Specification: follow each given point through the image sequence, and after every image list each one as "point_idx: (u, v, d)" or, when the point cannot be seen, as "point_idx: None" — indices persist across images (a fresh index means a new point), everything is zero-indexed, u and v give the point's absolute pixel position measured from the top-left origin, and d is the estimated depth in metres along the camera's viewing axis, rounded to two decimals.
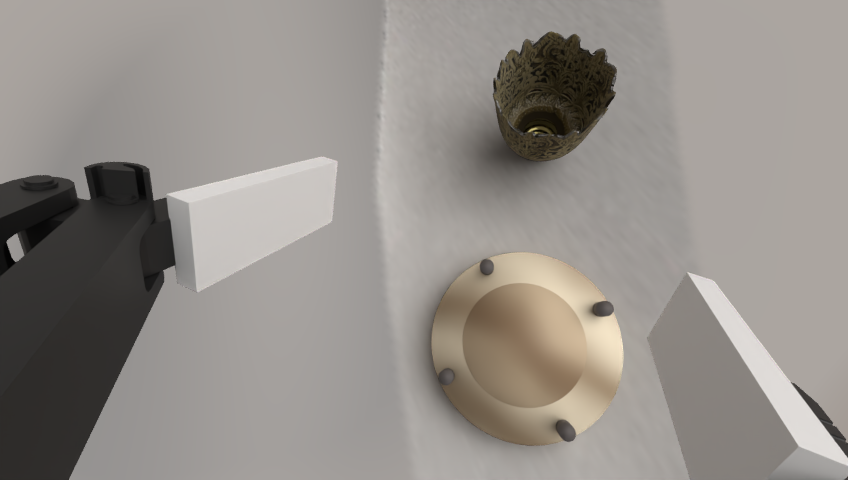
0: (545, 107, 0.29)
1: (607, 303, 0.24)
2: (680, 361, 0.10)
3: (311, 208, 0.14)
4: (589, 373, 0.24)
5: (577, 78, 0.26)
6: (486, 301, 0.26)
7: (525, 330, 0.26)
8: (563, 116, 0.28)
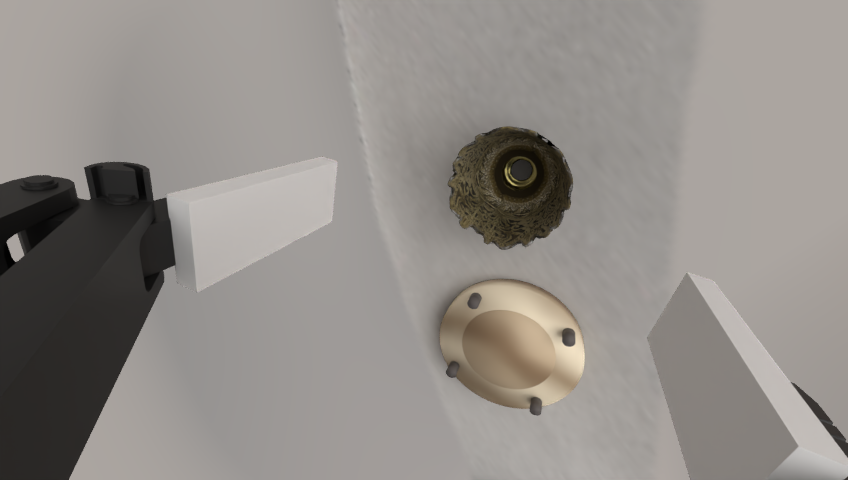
0: (523, 146, 0.26)
1: (570, 338, 0.29)
2: (680, 361, 0.10)
3: (311, 208, 0.14)
4: (556, 373, 0.32)
5: (547, 144, 0.23)
6: (477, 321, 0.33)
7: (508, 342, 0.33)
8: (542, 157, 0.26)
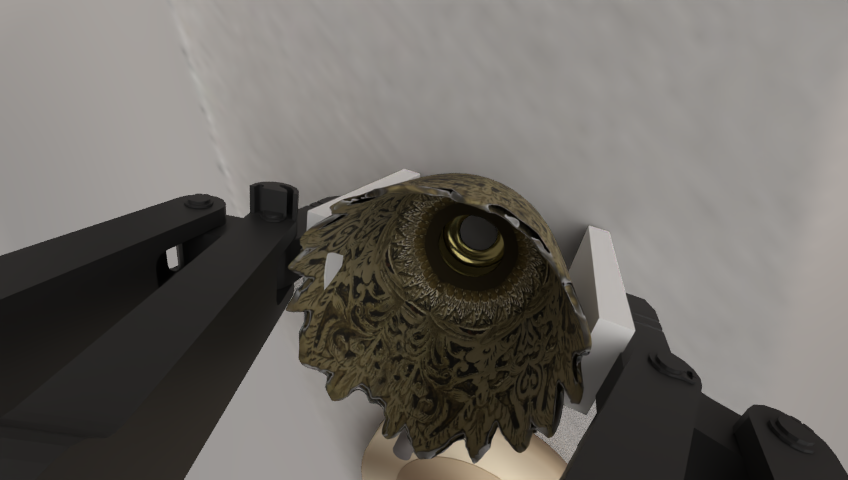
0: None
1: None
2: None
3: None
4: None
5: None
6: (415, 466, 0.20)
7: None
8: None
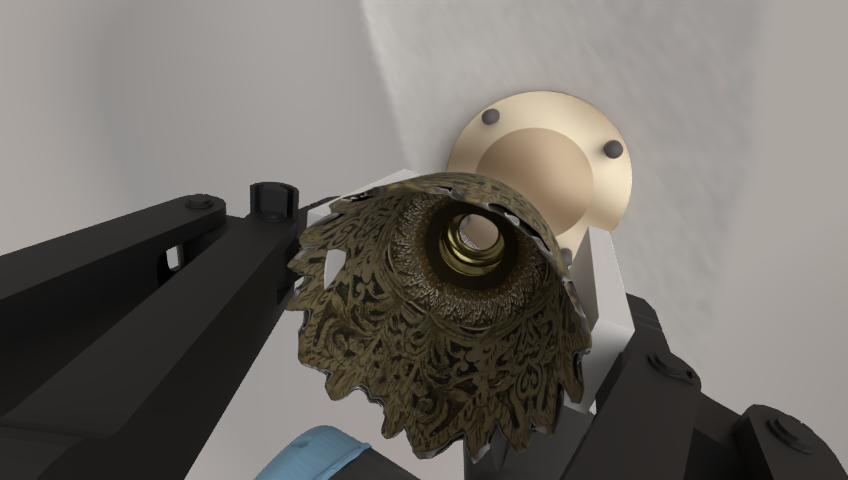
0: None
1: (617, 145, 0.22)
2: None
3: None
4: (593, 210, 0.25)
5: None
6: (493, 150, 0.26)
7: (533, 175, 0.26)
8: None
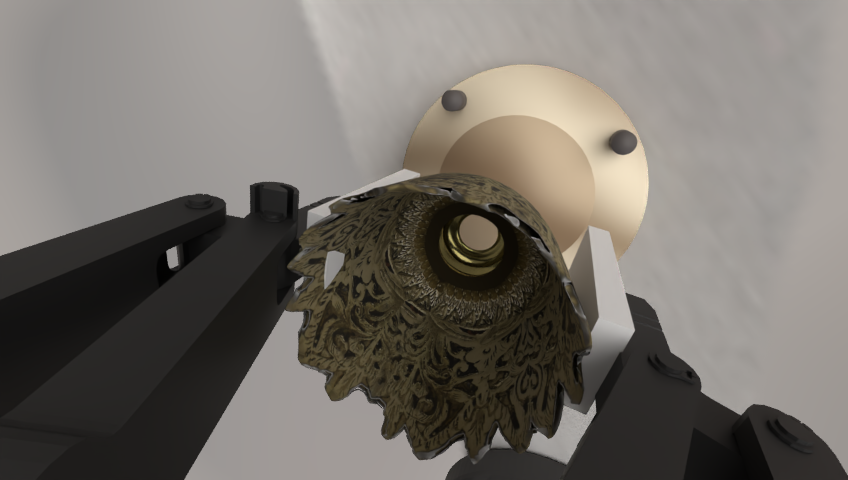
0: None
1: (628, 135, 0.16)
2: None
3: None
4: (595, 226, 0.19)
5: None
6: (460, 147, 0.20)
7: (513, 180, 0.19)
8: None
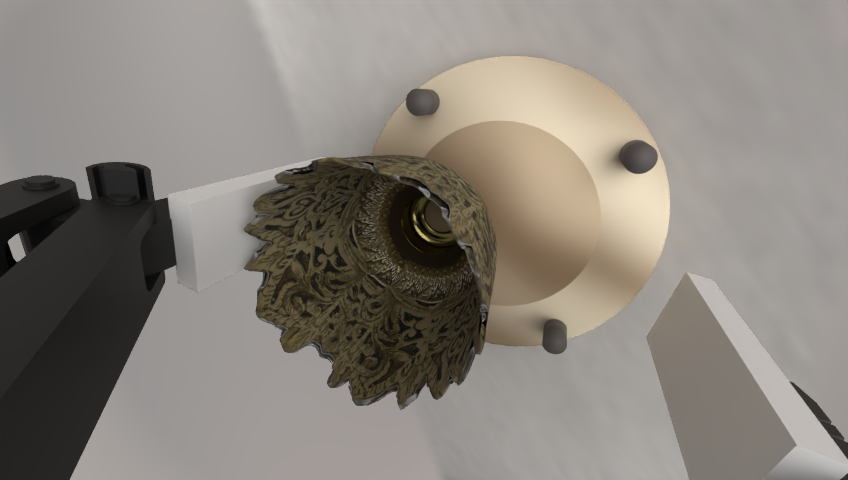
0: None
1: (646, 148, 0.12)
2: (679, 360, 0.10)
3: None
4: (601, 260, 0.15)
5: None
6: (433, 160, 0.16)
7: (498, 200, 0.16)
8: None
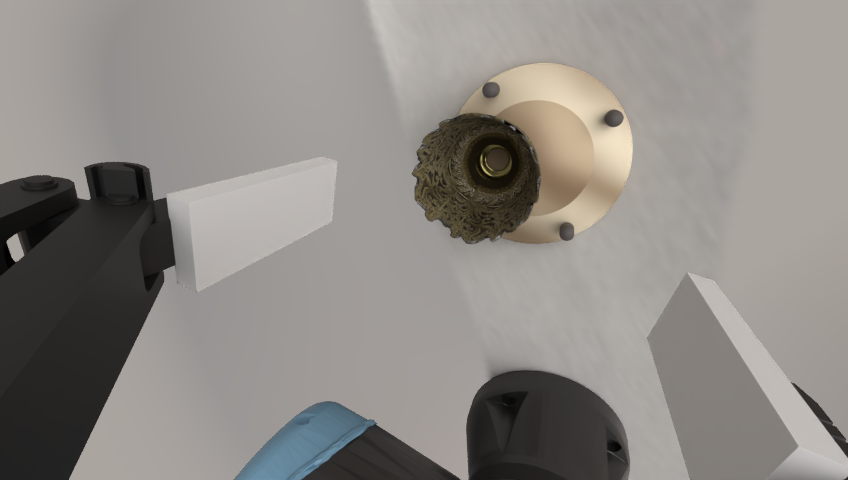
0: (498, 134, 0.25)
1: (617, 113, 0.22)
2: (680, 361, 0.10)
3: (311, 208, 0.14)
4: (594, 182, 0.25)
5: None
6: None
7: None
8: (517, 146, 0.24)
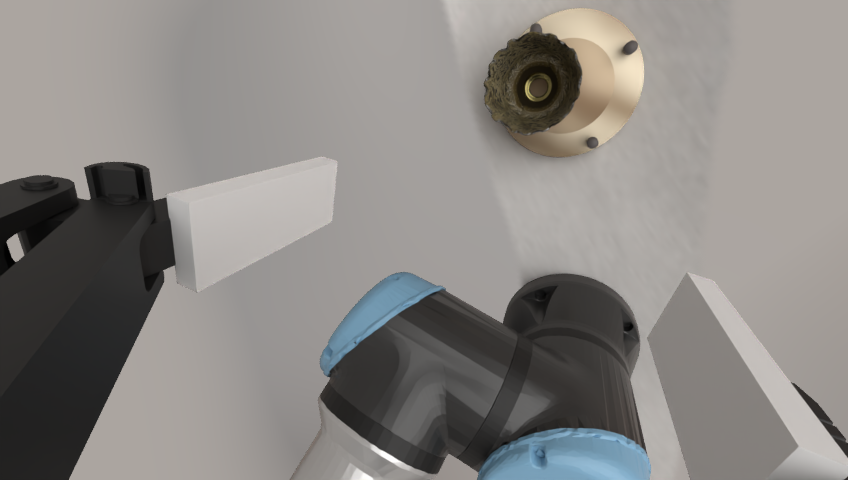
0: (542, 62, 0.33)
1: (633, 42, 0.30)
2: (680, 361, 0.10)
3: (311, 208, 0.14)
4: (614, 101, 0.33)
5: (562, 52, 0.29)
6: None
7: None
8: (557, 71, 0.32)
